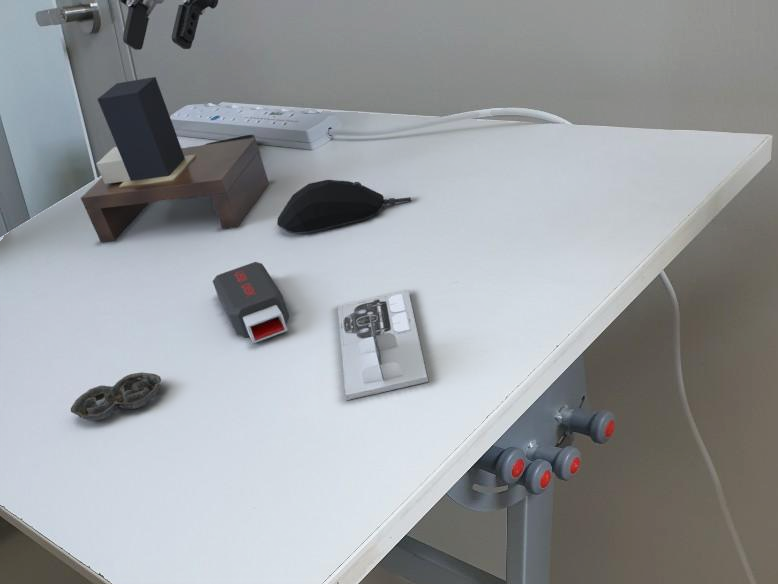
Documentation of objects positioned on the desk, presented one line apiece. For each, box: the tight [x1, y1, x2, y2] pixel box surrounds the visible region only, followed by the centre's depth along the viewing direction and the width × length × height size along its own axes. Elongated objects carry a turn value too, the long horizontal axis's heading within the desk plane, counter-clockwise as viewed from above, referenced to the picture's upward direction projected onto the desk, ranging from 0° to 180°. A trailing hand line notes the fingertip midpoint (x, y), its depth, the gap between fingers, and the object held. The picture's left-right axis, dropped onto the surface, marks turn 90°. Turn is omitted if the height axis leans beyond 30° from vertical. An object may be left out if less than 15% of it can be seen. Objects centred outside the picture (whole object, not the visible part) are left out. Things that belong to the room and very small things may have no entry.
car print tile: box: [337, 289, 429, 401], centre depth 73 cm, size 15×7×4 cm, turn 6°
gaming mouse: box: [276, 179, 412, 234], centre depth 94 cm, size 6×15×4 cm, turn 93°
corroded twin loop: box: [70, 371, 162, 421], centre depth 75 cm, size 5×8×1 cm, turn 110°
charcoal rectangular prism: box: [95, 76, 185, 184], centre depth 99 cm, size 8×5×9 cm, turn 79°
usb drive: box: [212, 261, 290, 344], centre depth 82 cm, size 5×12×3 cm, turn 21°
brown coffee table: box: [80, 137, 270, 243], centre depth 104 cm, size 18×12×6 cm, turn 79°
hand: (155, 46), depth 97 cm, fingers open, 8 cm apart
